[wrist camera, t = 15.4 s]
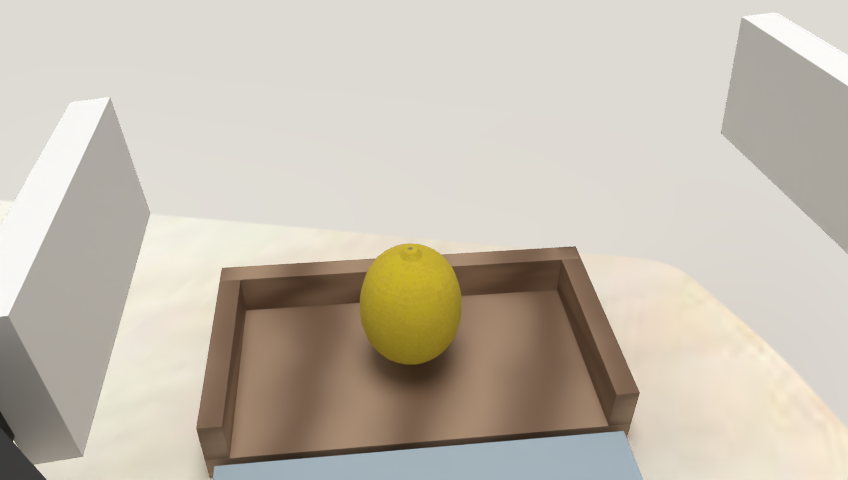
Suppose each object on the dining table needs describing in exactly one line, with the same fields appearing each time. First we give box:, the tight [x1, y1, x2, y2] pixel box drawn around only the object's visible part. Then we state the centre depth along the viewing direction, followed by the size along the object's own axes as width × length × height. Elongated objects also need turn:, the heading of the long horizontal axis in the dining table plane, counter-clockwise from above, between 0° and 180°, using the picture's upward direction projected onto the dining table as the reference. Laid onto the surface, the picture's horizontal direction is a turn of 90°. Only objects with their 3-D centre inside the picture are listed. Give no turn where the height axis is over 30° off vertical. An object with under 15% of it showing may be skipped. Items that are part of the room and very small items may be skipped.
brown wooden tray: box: [196, 247, 640, 478], centre depth 43 cm, size 22×12×4 cm, turn 96°
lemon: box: [360, 244, 461, 365], centre depth 40 cm, size 6×6×8 cm
